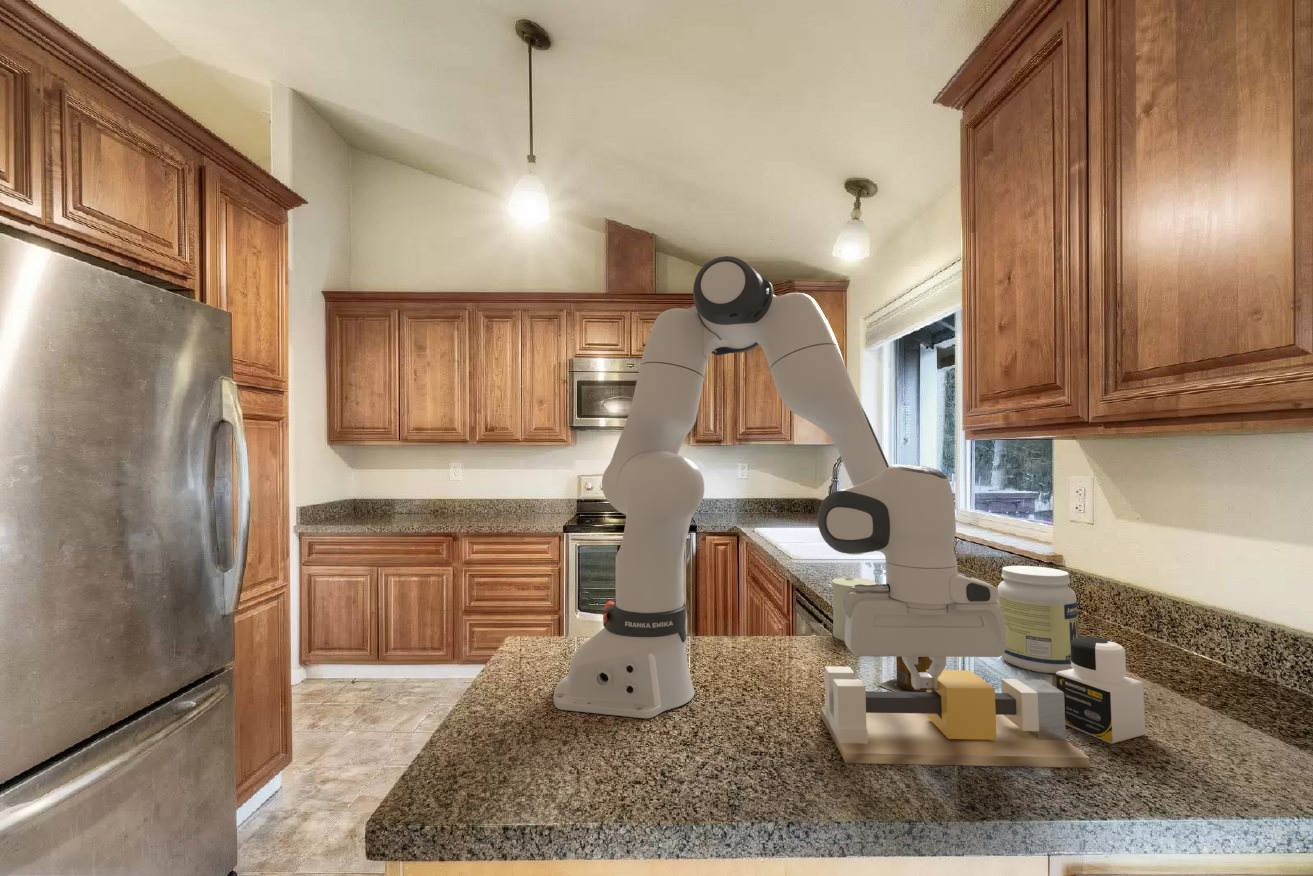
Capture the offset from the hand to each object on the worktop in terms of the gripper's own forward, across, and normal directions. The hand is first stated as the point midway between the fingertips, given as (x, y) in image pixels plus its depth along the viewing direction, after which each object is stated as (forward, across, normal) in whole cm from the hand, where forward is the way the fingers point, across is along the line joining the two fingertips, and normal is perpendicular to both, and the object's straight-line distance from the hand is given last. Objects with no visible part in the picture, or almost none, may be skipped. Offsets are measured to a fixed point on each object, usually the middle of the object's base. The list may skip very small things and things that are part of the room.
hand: (924, 688), depth 77 cm
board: (+7, +2, 0) cm, 7 cm away
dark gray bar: (+3, +1, 0) cm, 3 cm away
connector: (+6, +15, 0) cm, 16 cm away
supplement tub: (+7, +32, +30) cm, 44 cm away
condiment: (+7, +5, +18) cm, 20 cm away
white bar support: (+5, -11, 0) cm, 12 cm away
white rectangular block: (+4, +12, 0) cm, 13 cm away
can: (+7, +4, +46) cm, 46 cm away
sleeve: (+5, +4, 0) cm, 7 cm away
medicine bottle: (+7, +25, +4) cm, 26 cm away
